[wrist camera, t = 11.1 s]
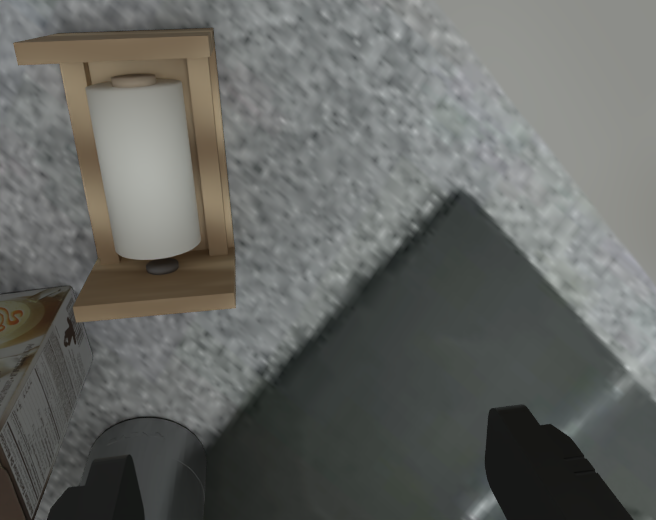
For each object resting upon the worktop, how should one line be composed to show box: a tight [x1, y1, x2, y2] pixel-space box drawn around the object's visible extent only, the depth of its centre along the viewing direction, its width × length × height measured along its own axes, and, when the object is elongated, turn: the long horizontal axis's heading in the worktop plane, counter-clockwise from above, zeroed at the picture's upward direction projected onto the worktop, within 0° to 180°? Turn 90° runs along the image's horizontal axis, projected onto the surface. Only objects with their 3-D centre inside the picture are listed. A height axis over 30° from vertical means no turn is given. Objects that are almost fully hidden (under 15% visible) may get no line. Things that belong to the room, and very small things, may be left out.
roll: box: [85, 74, 201, 260], centre depth 36 cm, size 10×5×5 cm, turn 1°
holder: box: [13, 28, 236, 323], centre depth 35 cm, size 15×9×8 cm, turn 1°
